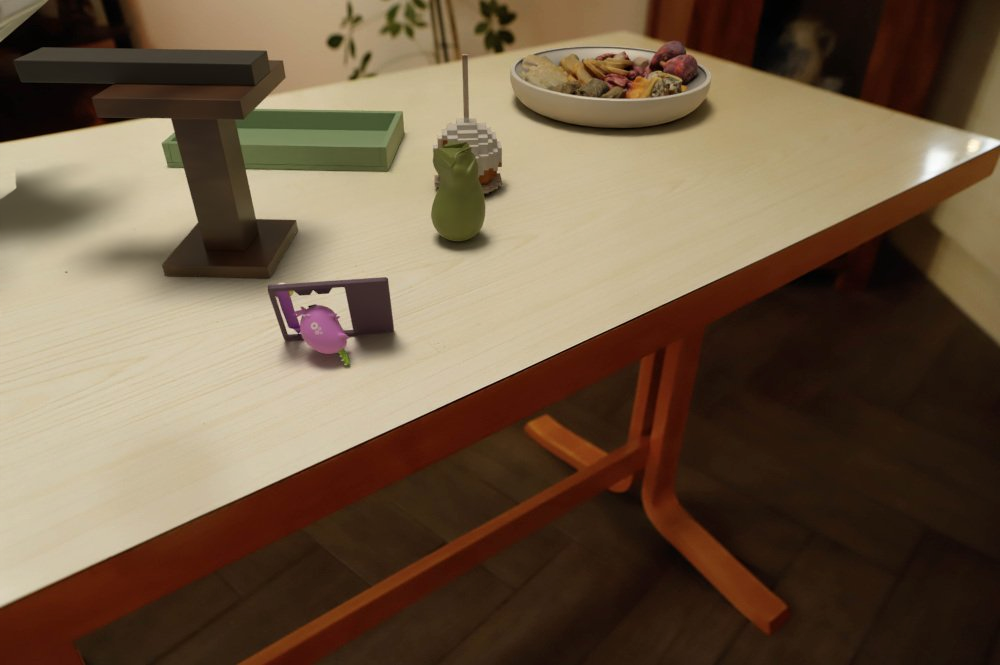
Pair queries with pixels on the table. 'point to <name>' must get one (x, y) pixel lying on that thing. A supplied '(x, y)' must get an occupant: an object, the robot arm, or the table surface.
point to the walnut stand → (211, 173)
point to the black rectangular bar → (143, 66)
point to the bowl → (611, 84)
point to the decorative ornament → (474, 141)
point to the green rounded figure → (457, 193)
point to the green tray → (313, 140)
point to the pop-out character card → (322, 323)
